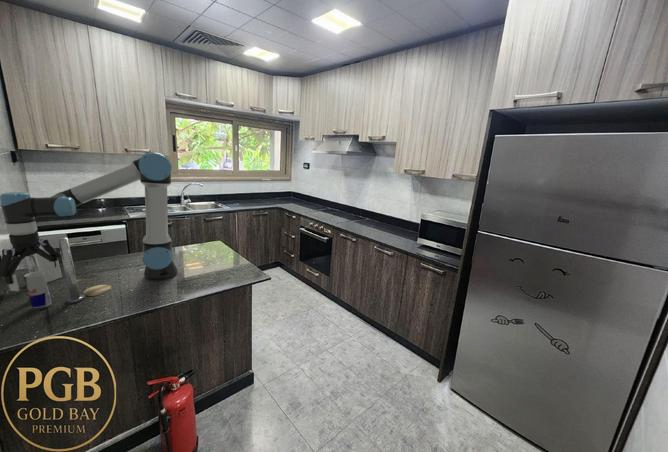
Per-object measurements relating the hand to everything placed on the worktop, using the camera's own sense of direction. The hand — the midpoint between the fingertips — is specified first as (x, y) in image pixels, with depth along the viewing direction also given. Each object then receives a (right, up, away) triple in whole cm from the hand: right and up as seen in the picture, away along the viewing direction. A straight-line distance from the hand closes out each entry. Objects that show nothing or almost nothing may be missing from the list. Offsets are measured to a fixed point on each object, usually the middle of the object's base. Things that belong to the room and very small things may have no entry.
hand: (35, 282), depth 109 cm
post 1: (-8, -9, +10) cm, 15 cm away
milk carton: (-21, -4, +25) cm, 33 cm away
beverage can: (0, -11, +3) cm, 11 cm away
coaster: (+10, -7, +17) cm, 21 cm away
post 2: (+8, -10, +9) cm, 15 cm away
